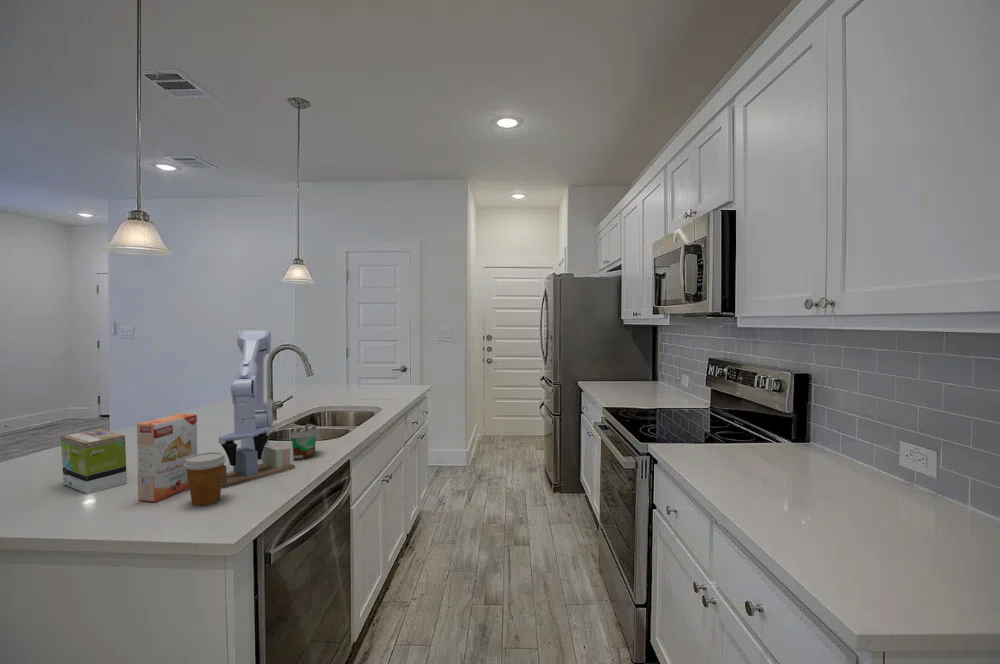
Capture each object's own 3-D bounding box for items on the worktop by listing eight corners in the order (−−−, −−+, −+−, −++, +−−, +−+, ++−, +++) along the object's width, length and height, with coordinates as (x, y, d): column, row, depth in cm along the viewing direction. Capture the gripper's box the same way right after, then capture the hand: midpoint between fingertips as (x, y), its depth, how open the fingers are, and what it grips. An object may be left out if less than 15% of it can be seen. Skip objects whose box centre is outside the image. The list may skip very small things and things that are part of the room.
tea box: (61, 485, 139) (59, 435, 138) (102, 475, 148) (101, 427, 147) (86, 495, 132) (84, 441, 131) (128, 483, 141) (126, 433, 140)
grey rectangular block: (233, 471, 148) (232, 449, 148) (244, 468, 151) (244, 446, 150) (246, 477, 143) (245, 453, 143) (258, 473, 146) (257, 451, 146)
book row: (263, 464, 155) (262, 446, 155) (276, 460, 159) (276, 442, 159) (276, 469, 151) (276, 450, 150) (290, 465, 154) (289, 446, 154)
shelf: (206, 481, 142) (206, 461, 142) (277, 462, 160) (277, 444, 160) (223, 488, 137) (222, 467, 136) (294, 468, 154) (294, 449, 154)
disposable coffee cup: (235, 496, 131) (234, 453, 130) (204, 510, 121) (203, 463, 121) (207, 493, 133) (206, 450, 133) (175, 506, 124) (174, 460, 124)
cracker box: (156, 503, 126) (153, 424, 125) (137, 501, 127) (134, 423, 127) (199, 484, 140) (197, 413, 139) (182, 483, 141) (180, 412, 140)
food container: (309, 461, 161) (309, 432, 161) (291, 461, 161) (291, 432, 161) (324, 451, 173) (323, 423, 173) (307, 451, 173) (306, 423, 173)
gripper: (226, 424, 138) (227, 470, 138) (274, 415, 150) (275, 458, 150) (214, 420, 142) (215, 466, 143) (262, 412, 154) (263, 454, 154)
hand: (245, 461), depth 147 cm, fingers open, 7 cm apart
